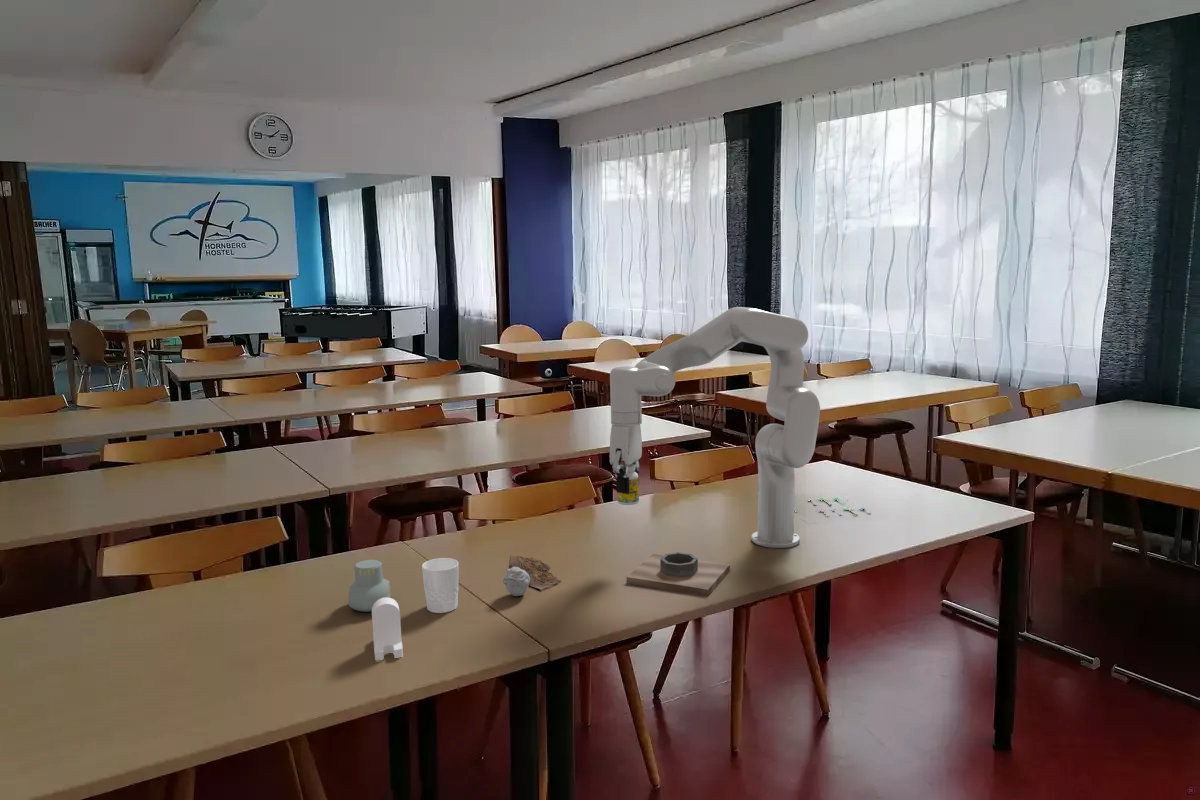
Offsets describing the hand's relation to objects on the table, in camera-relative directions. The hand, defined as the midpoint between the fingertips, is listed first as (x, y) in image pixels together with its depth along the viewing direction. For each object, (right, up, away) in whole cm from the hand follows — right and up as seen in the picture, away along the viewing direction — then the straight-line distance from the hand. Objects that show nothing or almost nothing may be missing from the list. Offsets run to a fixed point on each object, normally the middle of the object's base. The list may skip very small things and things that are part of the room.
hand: (627, 488), depth 208 cm
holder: (+12, -20, -7) cm, 25 cm away
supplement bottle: (0, -4, +1) cm, 4 cm away
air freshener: (-58, -24, -21) cm, 66 cm away
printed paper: (+65, -11, +47) cm, 81 cm away
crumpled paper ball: (-26, -23, -16) cm, 38 cm away
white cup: (-42, -24, -22) cm, 53 cm away
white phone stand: (-49, -28, -42) cm, 70 cm away
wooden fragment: (-24, -21, -2) cm, 32 cm away
